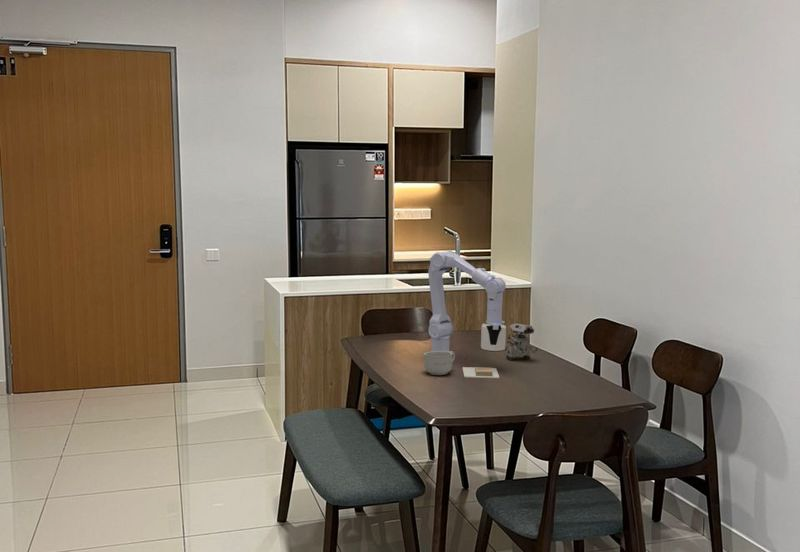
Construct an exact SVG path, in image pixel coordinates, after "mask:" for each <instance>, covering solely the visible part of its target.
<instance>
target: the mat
mask: <svg viewBox="0 0 800 552" xmlns="http://www.w3.org/2000/svg"><path fill="white" fill-rule="evenodd" d="M475 367H476V366H475ZM475 367H474V366H473V367H472V366H471V367H470V366H469V367H468V366H467V367H466V366H463V367H462V373H463V377H464V378H472V379H473V378H475V379H476V378H477V379H500V375H499V373H498V370H497V368H496V367H490V368H491V369H492V372H493V373H492V376H476V373H475Z"/></svg>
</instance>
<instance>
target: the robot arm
mask: <svg viewBox="0 0 800 552" xmlns="http://www.w3.org/2000/svg"><path fill="white" fill-rule="evenodd" d="M429 262H430V265H429V268H428V271H427V272H428V273H427V275H428V283H429V292H430V293H429V294H430V301H431V310H432V311H431V312H432V316H431V317H430V319H429V321H428V322H429V326H428V334H429V337H430V339H431V348H430V349H431V351H448V352H449V351H450V338H451V335H452V334H453V331H454V325H453V323H452V322H451V317H450V316H449V314H448V313H447V308H446V307H447V306H446V298H445V290H444V280H443V275H444V274H445V273H446V271H447V270H449V269H451V268H457V269H458V270H459V271H462V272H464V273H465V274H468V275H469V276H471V280H472V281H473V282H475V283H476V284H477V285H479V286H480V287H483V289H484V290H485V292H486V294H487V299H486V300H487V304H486V305H487V308H486V320H485V324H489V325H491V326H486V327H487V329H488V332H489V338H490V344H491V345H496V344H497V340H498V336H499V333H500V331H501V329H502V328H501V326H500V325H504V324H505V322H506V321H505V320H503V319H502V318H503V298H504V296H503V293H504V291H505V290H506V287H507V286H506V285H507V284H506V281H505V280H504V279H503V278H501V277H496V275H494V274H491V273H489V272H487V271H486V270H487V269H486V268H484V267H482V268H481V267H478V268H476V267H475V266H473V265H472V264H470V263H469V262H468V261H466V260H465V259H464V258H462V257H461V256H460V255H459V254H458V253H455V252H454V251H452V250H448V251H441V252H439V251H438V252H435V253H433V254H432V256H431V257H430V258H429Z"/></svg>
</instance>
